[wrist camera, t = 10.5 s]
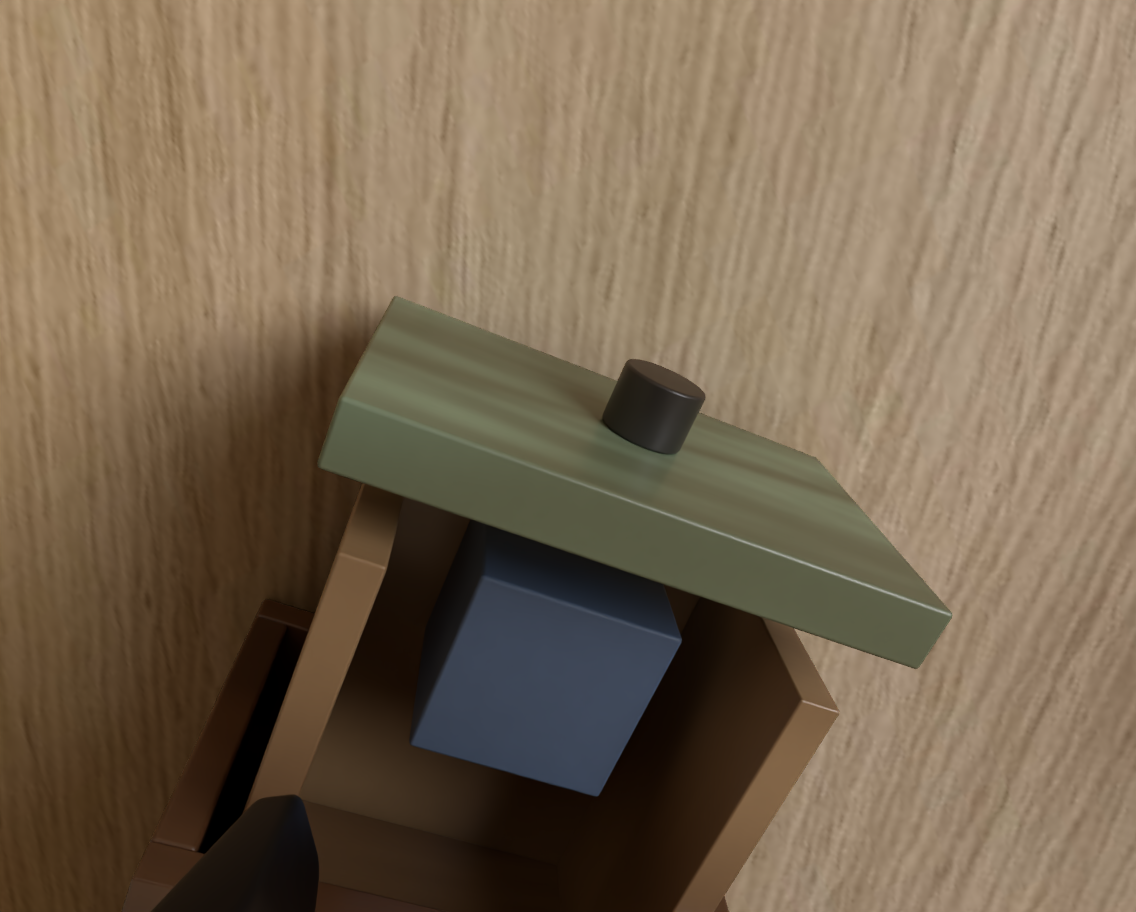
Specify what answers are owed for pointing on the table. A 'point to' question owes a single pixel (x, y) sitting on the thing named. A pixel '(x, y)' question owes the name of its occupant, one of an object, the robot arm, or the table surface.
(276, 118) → the table surface
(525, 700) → the block
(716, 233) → the table surface
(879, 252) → the table surface
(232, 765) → the cabinet
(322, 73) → the table surface
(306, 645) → the drawer
